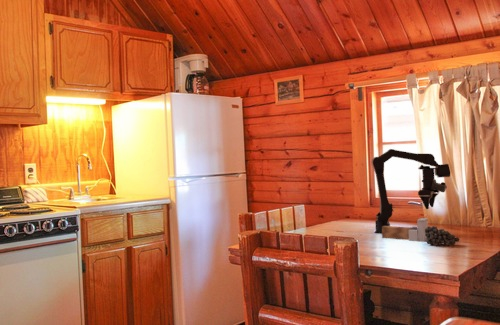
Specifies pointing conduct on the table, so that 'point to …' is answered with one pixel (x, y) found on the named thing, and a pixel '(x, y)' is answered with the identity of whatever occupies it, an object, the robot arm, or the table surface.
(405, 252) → the table surface
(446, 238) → the fruit
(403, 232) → the rail
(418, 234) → the grey block with legs
